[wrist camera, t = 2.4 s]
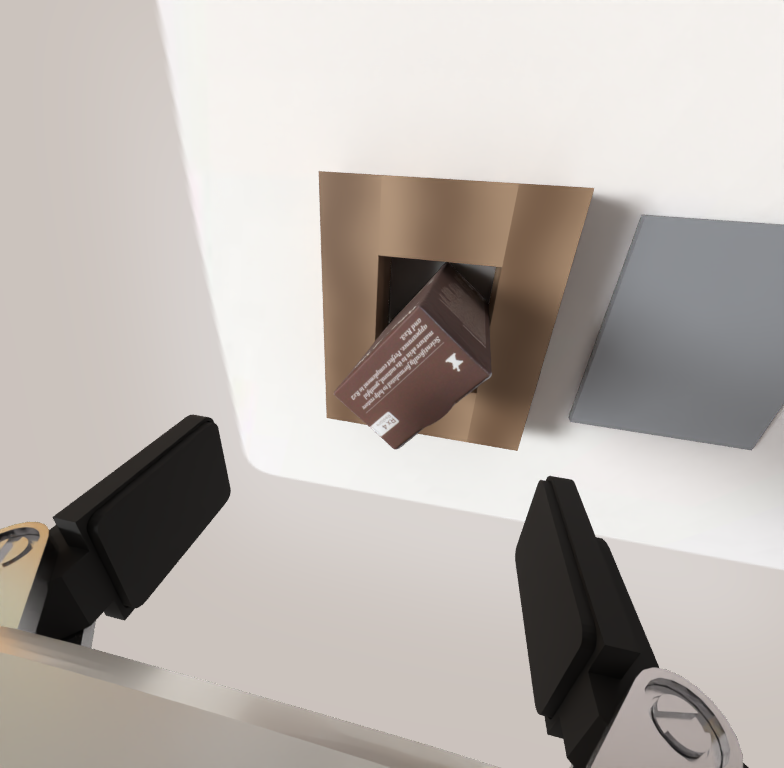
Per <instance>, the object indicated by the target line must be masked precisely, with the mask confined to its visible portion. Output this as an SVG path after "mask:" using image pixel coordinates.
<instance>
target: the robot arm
mask: <svg viewBox="0 0 784 768" xmlns="http://www.w3.org/2000/svg"><path fill="white" fill-rule="evenodd" d="M230 491H231V490H230V484H229V480H228V474H227V469H226V464H225V459H224V454H223V449H222V444H221V439H220V435H219V430H218V426H217V425H216V424H215V423H214V421H213V420H212V419H211V418H209V417H203V416H197V415H189V416H187V417H186V418H184V419H183V420H182V421H180V422H179V423H178V424H177V425H175V426H174V427H172V428H171V429H170V430H169V431H167V432H166V433H164V434H163V435H162V436H161V437H159V438H158V439H156V440H155V441H154V442H152V443H151V444H150V445H148V446H147V447H146V448H144V449H143V450H142V451H141V452H139V453H138V454H137V455H135V456H134V457H132V458H131V459H130V460H128V461H127V462H126V463H124V464H123V465H122V466H120V467H119V468H118V469H116V470H115V471H114V472H112V473H111V474H110V475H108V476H107V477H106V478H104V479H103V480H102V481H100V482H99V483H98V484H96V485H95V486H94V487H92V488H91V489H90V490H89V491H87V492H86V493H84V494H83V495H82V496H80V497H79V498H78V499H76V500H75V501H74V502H72V503H71V504H70V505H69V506H67V507H66V508H64V509H63V510H62V511H60V512H59V513H58V514H56V515H55V516H54V517H53V519H54V521H55V523H56V525H55V526H54V527H53V528H51V529H50V530H49V529H48V528H47V526H46V525H45V524H42V523H39V522H25V523H19V524H14V525H12V526H8V527H6V528H3V529H0V768H499V767H496V766H493V765H490V764H487V763H484V762H480V761H477V760H474V759H471V758H467V757H464V756H461V755H458V754H455V753H452V752H448V751H445V750H442V749H439V748H436V747H433V746H429V745H426V744H422V743H419V742H416V741H412V740H409V739H405V738H402V737H398V736H395V735H392V734H388V733H385V732H382V731H378V730H374V729H371V728H368V727H364V726H361V725H358V724H354V723H351V722H347V721H344V720H340V719H337V718H334V717H330V716H327V715H323V714H320V713H317V712H313V711H309V710H306V709H303V708H299V707H296V706H292V705H289V704H285V703H281V702H278V701H275V700H271V699H268V698H264V697H261V696H257V695H254V694H250V693H247V692H243V691H240V690H236V689H233V688H230V687H226V686H223V685H219V684H215V683H212V682H209V681H205V680H201V679H198V678H195V677H191V676H188V675H184V674H181V673H177V672H173V671H170V670H166V669H162V668H159V667H156V666H152V665H148V664H145V663H141V662H137V661H134V660H130V659H127V658H124V657H120V656H116V655H113V654H109V653H106V652H102V651H99V650H95V649H91V646H92V641H93V634H94V628H95V622H96V619H97V618H98V617H99V616H100V615H101V614H102V613H103V612H104V613H105V615H106V616H110V617H114V618H117V619H121V620H126V618H127V617H128V616H129V615H130V614H131V612H132V611H133V610H134V609H135V608H138V607H140V606H141V605H143V604H144V602H145V601H146V600H147V599H148V598H149V597H150V595H151V594H152V593H153V592H154V591H155V589H156V588H157V587H158V585H159V584H160V583H161V582H162V581H163V579H164V578H165V577H166V576H167V574H168V573H169V572H170V571H171V570H172V568H173V567H174V566H175V565H176V564H177V562H178V561H179V560H180V558H181V557H182V556H183V555H184V554H185V552H186V551H187V550H188V549H189V548H190V546H191V545H192V544H193V543H194V541H195V540H196V539H197V538H198V536H199V535H200V534H201V533H202V532H203V530H204V529H205V528H206V527H207V525H208V524H209V523H210V522H211V520H212V519H213V518H214V517H215V516H216V514H217V513H218V512H219V511H220V509H221V508H222V507H223V506H224V504H225V503H226V502H227V500H228V498H229V496H230ZM515 561H516V569H517V576H518V584H519V591H520V598H521V605H522V612H523V620H524V627H525V635H526V642H527V649H528V657H529V663H530V671H531V678H532V686H533V693H534V700H535V706H536V710H537V712H538V714H540V715H543V716H545V722H546V728H547V734H548V735H552V736H555V737H559V738H563V739H564V744H565V750H566V756H567V758H568V760H569V761H570V762H571V764H572V765H571V767H570V768H748V767H747V766H746V765H745V764H744V763H743V754H742V751H741V748H740V745H739V742H738V739H737V736H736V735H735V733H734V731H733V729H732V728H731V726H730V724H729V722H728V721H727V719H726V717H725V716H724V715H723V714H722V712H721V711H720V710H719V709H718V707H717V706H716V705H715V704H714V702H713V701H712V700H711V699H710V698H709V697H707V696H706V695H705V694H704V693H703V692H702V691H701V690H700V689H699V688H698V687H697V686H695V685H694V684H692V683H691V682H689V681H688V680H687V679H685V678H684V677H682V676H680V675H678V674H676V673H673V672H671V671H669V670H667V669H660V668H659V666H658V664H657V661H656V659H655V656H654V654H653V652H652V649H651V647H650V644H649V642H648V640H647V637H646V635H645V632H644V630H643V627H642V625H641V623H640V621H639V618H638V615H637V613H636V611H635V609H634V606H633V604H632V601H631V599H630V596H629V594H628V592H627V589H626V587H625V584H624V582H623V580H622V577H621V575H620V572H619V570H618V568H617V565H616V563H615V560H614V558H613V556H612V553H611V551H610V548H609V547H608V545H607V543H606V542H605V541H604V540H603V539H601V538H597V537H595V534H594V531H593V529H592V526H591V524H590V521H589V519H588V516H587V513H586V511H585V508H584V506H583V503H582V501H581V498H580V496H579V493H578V490H577V488H576V485H575V483H574V481H573V480H570V479H565V478H559V477H553V476H548V477H547V479H546V481H543V480H540V481H539V483H538V485H537V488H536V491H535V494H534V497H533V500H532V503H531V506H530V509H529V512H528V515H527V517H526V520H525V523H524V526H523V529H522V532H521V535H520V538H519V541H518V544H517V547H516V553H515Z"/></svg>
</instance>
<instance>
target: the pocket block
mask: <svg viewBox="0 0 784 768" xmlns="http://www.w3.org/2000/svg"><path fill="white" fill-rule="evenodd" d="M593 191H594V188H584V187H568V186H551V185H535V184H519V183H502V182H486V181H469V180H453V179H437V178H420V177H404V176H387V175H371V174H354V173H338V172H322V171H319V195H320V226H321V256H322V287H323V318H324V349H325V380H326V410H327V418H330V419H336V420H342V421H348V422H354V423H359V424H365V425H367V424H366V423H365V422H363V421H362V420H361V419H360V418H359V417H358V416H357V415H355V414H354V413H353V412H352V411H351V410H350V409H349V408H348V407H347V406H346V405H344V404H343V403H342V402H341V401H340V400H339V399H338V398H337V397H336V396H335V395H334V391H335V390H336V389H337V387H338V386H339V385H340V384H341V383H342V382H343V380H344V379H345V378H346V377H347V376H348V374H349V373H350V372H351V371H352V370H353V368H354V367H355V366H356V365H357V363H358V362H359V361H360V360H361V358H362V357H363V356H364V355H365V353H366V352H367V351H368V350H369V349H370V347H371V346H372V345H373V343H374V342H375V341H376V339H377V338H378V337H379V336H380V335H381V333H382V332H383V331H384V329H385V328H386V327H387V326H388V315H389V297H390V280H391V263H392V257H401V258H411V259H422V260H432V261H442V262H453V263H463V264H473V265H484V266H494V267H496V269H495V274H494V280H493V285H492V290H491V295H490V300H489V327H490V348H491V350H490V351H491V370H492V376H491V377H490V378H489V379H488V380H486V381H485V382H483V383H482V384H481V385H480V386H478V387H477V388H476V389H474V390H473V391H472V392H470V393H469V394H468V395H466V396H465V397H464V398H463V399H461V400H460V401H459V402H457V403H456V404H455V405H454V406H453V407H452V408H451V410H450V411H449V412H448V413H447V414H446V415H445V416H444V417H443V418H441V419H440V420H439V421H437V422H436V423H434V424H432V425H430V426H427V427H425V428H424V429H423V430H421V431H420V432H419V433H418V434H423V435H429V436H435V437H440V438H446V439H452V440H458V441H464V442H469V443H475V444H481V445H487V446H492V447H498V448H504V449H510V450H516V451H518V447H519V444H520V440H521V437H522V433H523V430H524V427H525V423H526V420H527V416H528V413H529V410H530V406H531V403H532V399H533V396H534V393H535V389H536V386H537V382H538V379H539V375H540V372H541V369H542V365H543V362H544V358H545V355H546V352H547V348H548V345H549V341H550V338H551V335H552V331H553V328H554V324H555V321H556V317H557V314H558V311H559V307H560V304H561V300H562V297H563V294H564V290H565V287H566V283H567V280H568V277H569V273H570V270H571V266H572V263H573V259H574V256H575V253H576V249H577V246H578V242H579V239H580V236H581V232H582V229H583V225H584V222H585V219H586V215H587V212H588V208H589V205H590V201H591V198H592V195H593Z"/></svg>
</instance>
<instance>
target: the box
mask: <svg viewBox="0 0 784 768" xmlns="http://www.w3.org/2000/svg"><path fill="white" fill-rule="evenodd" d="M490 350H491V348H490V327H489V304H488V303H487V301H486V300H485V299H484V298H483V296H482V295H481V294H480V293H478V292H477V290H476V289H475V288H474V287H473V286H472V285H471V284H470V283H469V282H468V281H466V279H465V278H464V277H463V276H462V275H461V274H460V273H459V272H458V271H457V270H456V269H455V268H454V267H453V266H452V265H451V264H450V263H449V262H446V263H445V264H444V265H443V266H442V267H441V268H440V269H439V271H438V272H437V273H436V274H435V275H434V276H433V277H432V278H431V279H430V280H429V281H428V283H427V284H426V285H425V286H424V287H423V288H422V289H421V290H420V291H419V292H418V293H417V295H416V296H415V297H414V298H413V299H412V300H411V301H410V302H409V303H408V304H407V305H406V306H405V307H404V308H403V309H402V310H401V311H400V313H398V314H397V315H396V316H395V317H394V318H393V320H392V321H391V322H390V323H389V324H388V326H387V327H386V328H385V329H384V331H383V332H382V333H381V335H380V336H379V337H378V338H377V339H376V341H375V342H374V343H373V345H372V346H371V347H370V349H369V350H368V351H367V352H366V353H365V355H364V356H363V357H362V358H361V360H360V361H359V362H358V363H357V365H356V366H355V367H354V368H353V370H352V371H351V372H350V373H349V374H348V376H347V377H346V378H345V379H344V380H343V382H342V383H341V384H340V385H339V386H338V387H337V389H336V390H335V391H334V395H335V396H336V397H337V398H338V399H339V400H340V401H341V402H342V403H343V404H344V405H346V406H347V407H348V408H349V409H350V410H351V411H352V412H353V413H354V414H355V415H357V416H358V417H359V418H360V419H361V420H362V421H363V422H365V423H366V424H367V425H368V426H369V427H370V428H371V429H373V430H374V431H375V432H376V433H377V434H378V435H379V436H380V437H381V438H382V439H384V440H385V441H386V442H387V443H388V444H389V445H390V446H391V447H392V448H393V449H399V448H400V447H402V446H403V445H404V444H405V443H406V442H408V441H409V440H410V439H412V438H413V437H414V436H415V435H416V434H418V433H419V432H420V431H421V430H423V429H424V428H425V427H427V426H430V425H432V424H434V423H436V422H437V421H439V420H440V419H441V418H443V417H444V416H445V415H446V414H447V413H448V412H449V411H450V410H451V408H452V407H453V406H454V405H455V404H456V403H457V402H459V401H460V400H461V399H463V398H464V397H465V396H466V395H468V394H469V393H470V392H472V391H473V390H474V389H476V388H477V387H478V386H480V385H481V384H482V383H483V382H485V381H486V380H488V379H489V378H490V377H491V376H492V370H491V351H490Z"/></svg>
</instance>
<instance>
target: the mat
mask: <svg viewBox="0 0 784 768" xmlns="http://www.w3.org/2000/svg"><path fill="white" fill-rule="evenodd" d="M783 404H784V225H780V224H765V223H751V222H737V221H723V220H708V219H694V218H680V217H666V216H652V215H641V218H640V221H639V224H638V227H637V229H636V232H635V235H634V238H633V240H632V243H631V246H630V249H629V252H628V254H627V257H626V260H625V263H624V265H623V268H622V271H621V274H620V277H619V279H618V282H617V285H616V288H615V290H614V293H613V296H612V299H611V301H610V304H609V307H608V310H607V313H606V315H605V318H604V321H603V324H602V326H601V329H600V332H599V335H598V338H597V340H596V343H595V346H594V349H593V351H592V354H591V357H590V360H589V363H588V365H587V368H586V371H585V374H584V376H583V379H582V382H581V385H580V387H579V390H578V393H577V396H576V399H575V401H574V404H573V407H572V410H571V412H570V415H569V419H570V422H575V423H582V424H588V425H594V426H601V427H607V428H614V429H620V430H626V431H633V432H639V433H645V434H652V435H658V436H664V437H671V438H677V439H684V440H690V441H696V442H703V443H709V444H715V445H722V446H728V447H734V448H741V449H747V450H752V449H753V448H754V446H755V445H756V443H757V442H758V440H759V439H760V437H761V436H762V435H763V433H764V432H765V430H766V429H767V427H768V426H769V425H770V423H771V422H772V420H773V419H774V417H775V416H776V414H777V413H778V412H779V410H780V409H781V407H782V406H783Z"/></svg>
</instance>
